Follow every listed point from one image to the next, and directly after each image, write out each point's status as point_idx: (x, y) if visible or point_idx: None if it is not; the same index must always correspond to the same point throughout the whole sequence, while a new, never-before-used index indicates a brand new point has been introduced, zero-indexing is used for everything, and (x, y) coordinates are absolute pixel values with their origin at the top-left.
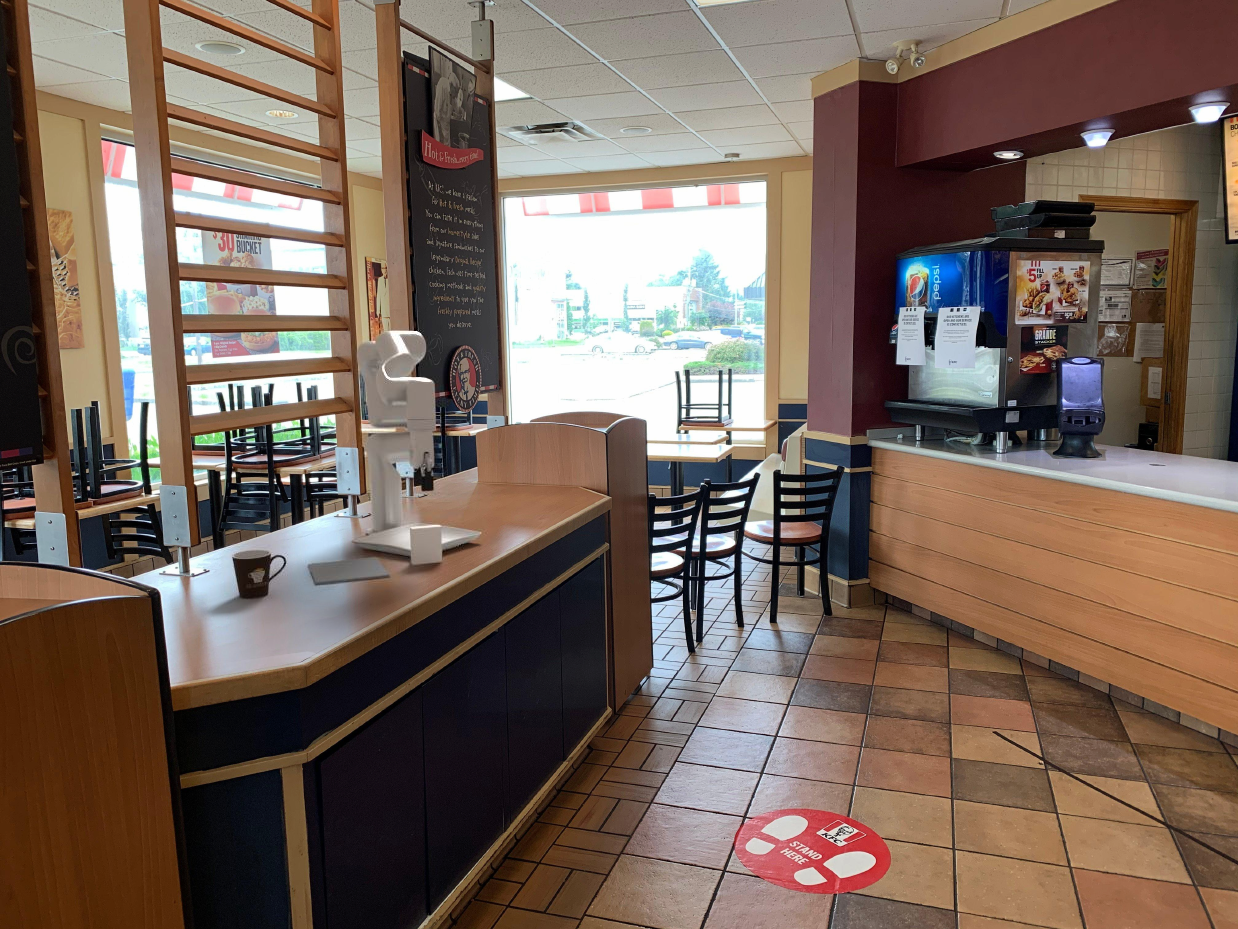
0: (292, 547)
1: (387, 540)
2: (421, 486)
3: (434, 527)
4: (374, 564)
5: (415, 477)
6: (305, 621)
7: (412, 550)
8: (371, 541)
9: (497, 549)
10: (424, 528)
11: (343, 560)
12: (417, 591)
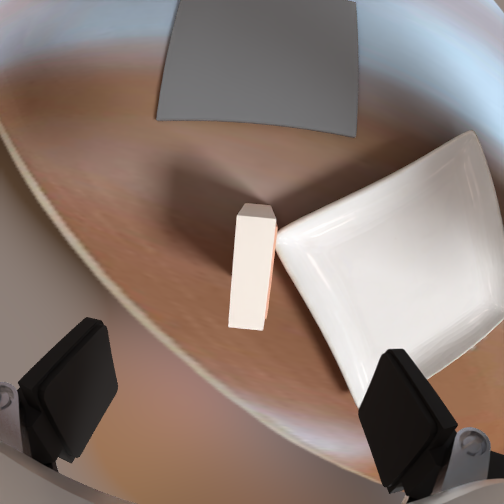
0: (496, 60)
1: (476, 224)
2: (71, 333)
3: (230, 303)
4: (277, 107)
5: (408, 401)
6: (31, 15)
7: (243, 206)
8: (475, 182)
9: (284, 407)
10: (233, 265)
11: (356, 61)
12: (46, 161)
